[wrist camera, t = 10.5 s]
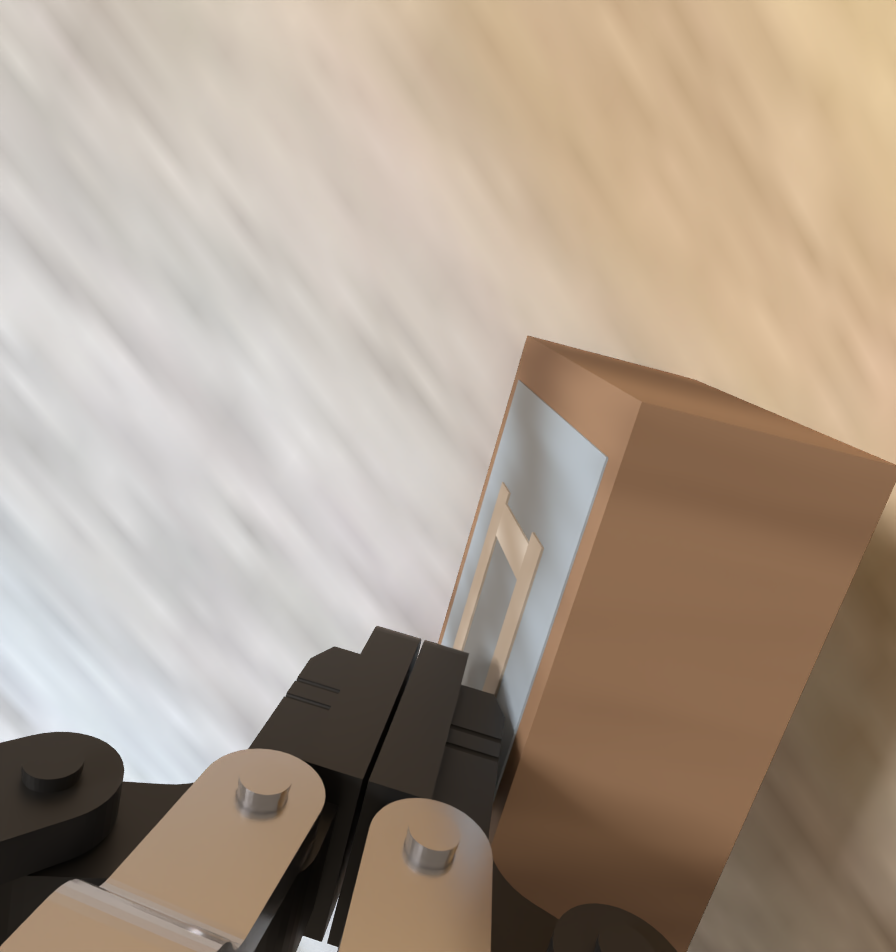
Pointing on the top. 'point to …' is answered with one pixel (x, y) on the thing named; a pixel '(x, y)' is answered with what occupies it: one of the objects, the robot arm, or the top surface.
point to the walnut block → (646, 621)
